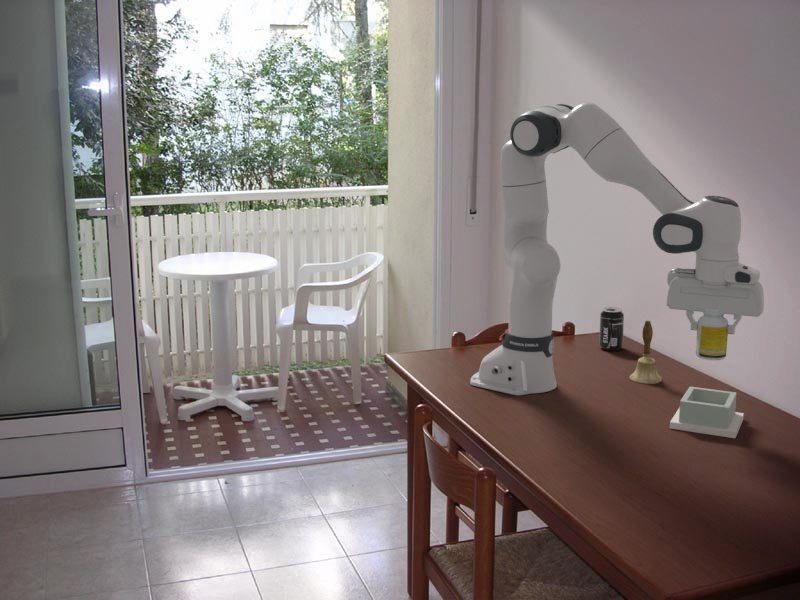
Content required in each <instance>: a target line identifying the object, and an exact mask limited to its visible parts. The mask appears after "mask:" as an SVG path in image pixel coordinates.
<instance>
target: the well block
mask: <svg viewBox="0 0 800 600" xmlns="http://www.w3.org/2000/svg"><path fill="white" fill-rule="evenodd" d="M737 394H738V393H737V392H735V391H727V390H719V389H713V388H704V387H696V386H689V387H688V388H687V389H686V392H685V393H684V395H683V396H682V398H681V399H680V401H679V407H678V409H677V411H676V412H675V413H674V415H673V417H672V418H671V419H670V422H669V429H672V430H676V431H677V430H678V431H679V430H680V431H684V432H691V433H692V432H693V433H697V434H705V435H711V436H717V437H723V438H724V437H725V438H732V439H736V437H737V435H738V433H739V430H740V428H741V426H742V423H743V421H744V415H745V413H744V412H739V411H736V408H737Z"/></svg>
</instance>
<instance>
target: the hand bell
mask: <svg viewBox="0 0 800 600" xmlns="http://www.w3.org/2000/svg"><path fill="white" fill-rule="evenodd" d="M651 323H652V322H651V320H645V321H644V325H643V328H642V340H643V344H644V345H643V356H642V357H639V358H638V360H637V364H636V368H635V370H634V372H632V373H631V374H630V375H629V379H630V380H631V381H632V382H635V383H638V384H643V385H655V384H659V383H661V382H663V378H662V376H660V374H659V372H658V370H657V366H656V360H655V359H654V358H652V357H651V343H652V339H653V336H654V335H653V333H654V331H653V326H652V324H651Z"/></svg>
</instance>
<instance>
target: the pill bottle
mask: <svg viewBox="0 0 800 600" xmlns="http://www.w3.org/2000/svg"><path fill="white" fill-rule="evenodd" d="M702 313H703V315H702V316H700V317H699V318H698V320H697V322H698V326H697V331H696V346H695V354H696V357H698V358H699V359H702V360H705V361H722V360H724V359H726V357H727V351H728V350H727V349H728V347H727V346H728V336H729V334H727V331H728V330H727V327H728V325H729V321H728V319H727V318H726V317H724V315H725V314H721V313H719V309H710V308H706V311H705V312H702Z"/></svg>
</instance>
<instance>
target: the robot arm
mask: <svg viewBox="0 0 800 600" xmlns="http://www.w3.org/2000/svg"><path fill="white" fill-rule="evenodd" d="M509 136H510V137H509V138H510V140H508V141H507V142H505V143H504V145H503V146H502V148H501V150H500V164H499V166H500V167H499V169H500V171H499V172H500V185H501V196H502V206H503V214H504V226H503V227H504V229H503V233H504V235H503V236H504V237H503V238H504V239H503V240H504V244H503V245H504V260H505V262H506V266H507V267H508V268H509V269H510V270H511V272H512V274H513V283H512V289H511V295H510V299H509V302H508V328H507V329H506V330H504V332H503V333H502V334H501V335H500V336H499V342H501V345H499V346H498V347H496V348H495V349H493V350H492V351H490V352H489V353H488V354H486V355H484V357H483V358H482V360H481V362H480V366H479V369H478V370H479V371H477V372H476V373H474V374H473V375H472V376H471V377H470V379H469V380H470V381H469V383H470V385H471V386H475V387H478V388H481V389H482V388H483V389H487V390H491V391H496V392H500V393H504V394H510V395H514V396H524V395H530V394H540V393H541V394H542V393H546V392H551V391H553V390H555V389H556V388H557V387H558V384H557V380H556V375H555V371H554V363H553V353H554V349H555V347H554V346H555V341H554V333H553V329H552V328H553V305H554V303H553V302H554V297H555V291H556V287H557V282H558V276H559V274H560V272H561V259H560V257H559V254H558V251H557V250H556V248H555V247H554V246H553V245H551V244H549V243H548V239H547V230H548V229H547V227H548V226H547V225H548V217H549V216H548V215H549V212H550V210H549V209H550V208H549V200H548V190H547V189H548V188H547V180H546V171H545V169H546V168H545V164H546V162H545V161H546V159H547V157H548V156H549V155H550V154H556V153H558V152H561V151H562V150H565V149H568V148H569V147H570V148H572V149H573V150H574V151H576V153H577V154H578V155H579V156H580V158H582V159H583V160H584V162H585V163H586V165H588V167H589V168H590V169H591V170H592V171H593V172H594V173H595V174H597V175H598V176H599V177H600V178H602V179H603V180H605V181H607V182H609V183H614V184H618V185H624V186H627V187H630V188H632V189H634V190H637V191H638V192H639V193H640V194H642V195H643V196H644V197H645V199H647V201H648V202H650V203H651V205H653V207H654V208H656V210H657V211H658V212H659V213H660V214H661V216H660V217H658V218H657V220H656V221H655V223H654V225H653V228H652V236H653V241H654V242H655V243H654V244H656V246H657V247H658V248H659V250H661V251H663V252H664V253H667V254H672V255H673V254H674V255H678V254H679V255H680V254H684V253H691V252H694V253H695V254H696V255H695V268H680V267H675V268H674V269H671V270H670V271H669V272H668V274H667V280H666V281H667V285H668V290H667V296H666V306H667V307H668V309H670V310H676V311H677V310H678V311H679V310H680V311H686V312H685V315H686V318H687V320H688V321H689V323H690V331H696V332H697V326H698V320H695V318H694V316H693V315H694V314H695V312H700V313H703V312H705V311H706V308H710V309H719V313H721V314H724V315H732V316H733V321H734V320H735V321H734V322H733V323H732V324H728V327H727V330H728V331H727V334H728V335H736V334H735V333H736V326H738V324H739V323H740V321H741V320H742V317H743V316H744V317H753V318H754V317H755V318H758V317H760V316H761V315H762V314H763V313H764V309H765V299H764V298H765V296H764V288H763V286H762V284H761V283H760V282H759V280H760V276H761V273H760V270H758V269H757V268H755V267H751V266H748V265H746V264H743V263H742V262H741V263H740V262H739V261H740V256H739V255H740V254H739V249H738V247H739V243H740V241H741V233H742V232H741V231H742V219H741V217H742V215H741V208H740V206H739V204H738V203H737V202H736V201H735V200H734V199H731V198H730V197H729V198H728V197H724V196H718V195H706V196H704V197H702V198H701V199H700V200H697V201H696V202H694V201H692V200H690V199H688V198H687V197H686V196H685V195H683V194H682V192H681V191H680V190H679V189H678V188H677V187H675V185H674V184H673V183H672V182H671V181H670V180H669V179H668V178H667V177H666V176H665V175H664V174H663V173H662V172H661V171H660V170H659V169H658V168H657V167H656V166H655V165H654V164H652V162H651V160H650V159H649V158H648V157H647V155H645V154H644V152H643V151H642V150H641V149H640V148H639V146H638V145H637V144H636V142H635V141H634V140H633V139H632V137H630V135H629V134H628V133H627V132H626V130H624V128H623V127H622V126H621V124H620V123H618V122H617V120H615V119H614V118H613V117H612V116H611V115H610V114H609V113H608V112H606V111H605V110H604V109H603V108H601V107H600V106H599V105H597V104H596V103H594V102H583V103H580V104H578V105H576V106H575V107H574V106H572V105H570V104H569V105H568V104H563V103H558V104H553V105H545V106H540V107H539V108H536V109H533V110H529V111H528V110H527V111H525V112H524V113H522V114H520V115H519V116H518V117H517V118H516V119H515V120H514V121H513V123H512V125H511V128H510V133H509Z"/></svg>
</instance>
